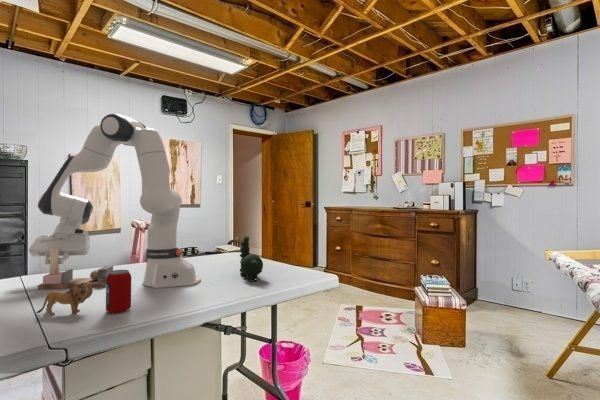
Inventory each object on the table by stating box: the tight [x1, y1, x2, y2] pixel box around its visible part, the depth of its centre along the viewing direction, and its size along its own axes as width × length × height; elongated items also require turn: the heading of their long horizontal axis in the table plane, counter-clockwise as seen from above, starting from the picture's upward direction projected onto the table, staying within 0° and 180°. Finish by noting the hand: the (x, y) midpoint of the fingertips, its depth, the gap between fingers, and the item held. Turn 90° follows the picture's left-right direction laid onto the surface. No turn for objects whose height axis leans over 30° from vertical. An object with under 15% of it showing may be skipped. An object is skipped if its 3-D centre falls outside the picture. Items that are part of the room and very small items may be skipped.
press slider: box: [42, 248, 74, 284], centre depth 130 cm, size 7×8×13 cm
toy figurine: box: [239, 235, 264, 281], centre depth 147 cm, size 9×19×25 cm
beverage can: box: [105, 269, 132, 315], centre depth 101 cm, size 7×7×12 cm
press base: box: [36, 265, 114, 290], centre depth 132 cm, size 24×10×6 cm, turn 102°
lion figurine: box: [36, 282, 94, 317], centre depth 99 cm, size 15×5×9 cm, turn 104°
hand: (53, 263), depth 129 cm, fingers closed on press slider, 3 cm apart
